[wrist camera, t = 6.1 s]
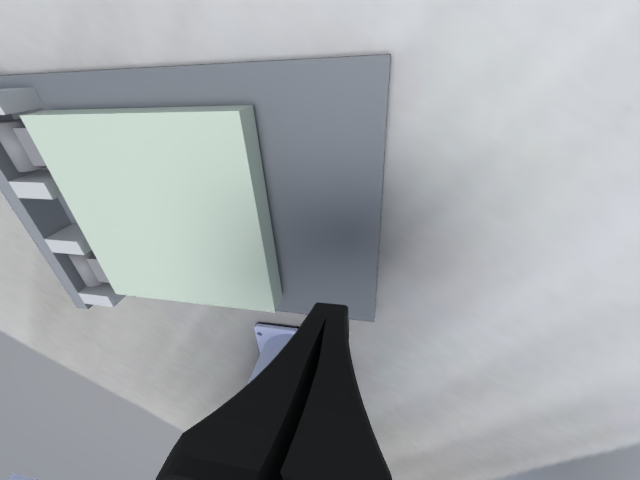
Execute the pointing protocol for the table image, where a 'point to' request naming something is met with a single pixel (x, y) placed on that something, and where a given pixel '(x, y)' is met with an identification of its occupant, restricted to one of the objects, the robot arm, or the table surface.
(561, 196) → the table surface
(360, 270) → the jig board
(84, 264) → the door
